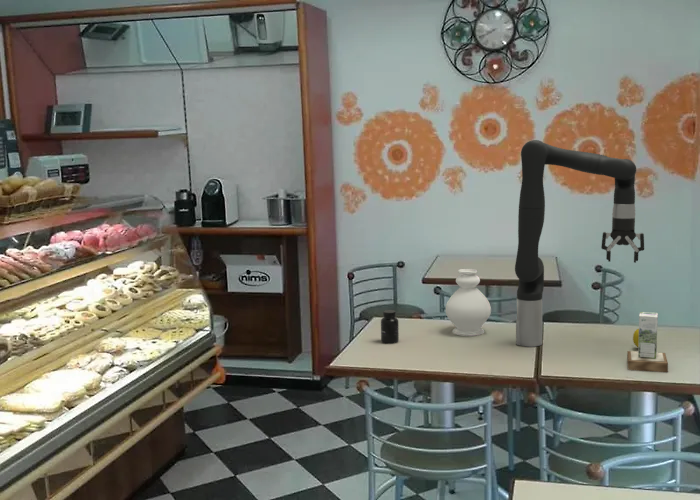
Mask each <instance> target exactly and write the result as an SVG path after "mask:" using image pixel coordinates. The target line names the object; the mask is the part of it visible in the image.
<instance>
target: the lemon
mask: <svg viewBox="0 0 700 500" xmlns="http://www.w3.org/2000/svg"><path fill="white" fill-rule="evenodd" d="M632 341H633V344H634V345H635V347H637V348H638V346H639V328H637V329H636V330H634V332H633V335H632Z"/></svg>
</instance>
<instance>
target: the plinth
mask: <svg viewBox="0 0 700 500" xmlns="http://www.w3.org/2000/svg"><path fill="white" fill-rule="evenodd" d="M626 355H627V358H626V360H627V370H629V371H642V372H659V373H668V372H669V371H668V370H669V362H668V358H667V356H666V353H665V352H657V357H656V359H653V358H641V357H638V351H633V350H627V353H626Z"/></svg>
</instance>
